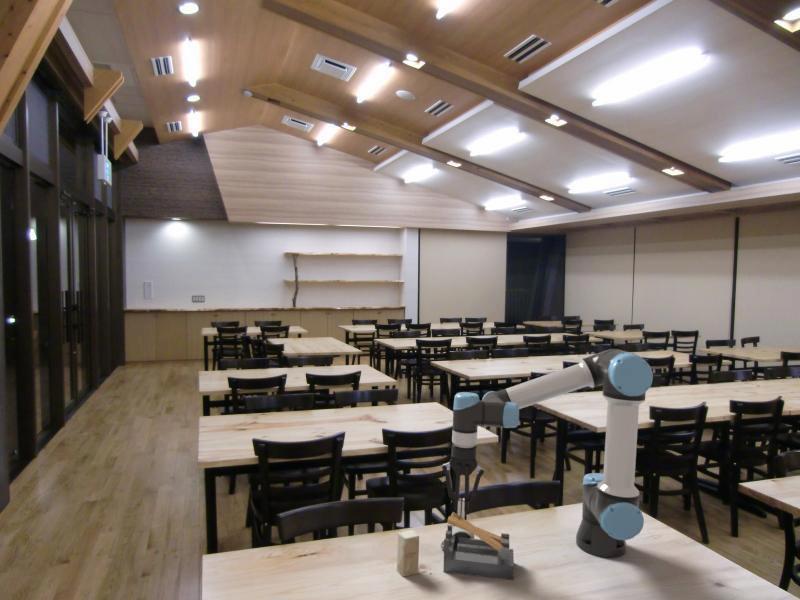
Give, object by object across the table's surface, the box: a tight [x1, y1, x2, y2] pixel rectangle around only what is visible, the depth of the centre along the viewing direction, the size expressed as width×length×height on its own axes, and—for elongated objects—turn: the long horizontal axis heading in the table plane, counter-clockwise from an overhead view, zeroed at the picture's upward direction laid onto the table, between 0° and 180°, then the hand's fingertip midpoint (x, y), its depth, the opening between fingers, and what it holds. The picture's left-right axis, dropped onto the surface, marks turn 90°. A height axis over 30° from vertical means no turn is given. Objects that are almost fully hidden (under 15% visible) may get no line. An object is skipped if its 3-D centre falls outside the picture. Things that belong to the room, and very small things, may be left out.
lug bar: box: [443, 524, 455, 559], centre depth 158 cm, size 2×10×5 cm, turn 169°
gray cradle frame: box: [443, 532, 515, 581], centre depth 156 cm, size 20×10×9 cm, turn 79°
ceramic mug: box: [440, 526, 475, 551], centre depth 167 cm, size 11×8×8 cm
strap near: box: [450, 511, 508, 552], centre depth 153 cm, size 19×2×2 cm, turn 78°
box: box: [396, 529, 420, 577], centre depth 153 cm, size 5×4×11 cm
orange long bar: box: [446, 515, 508, 544], centre depth 159 cm, size 19×2×2 cm, turn 78°
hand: (460, 520), depth 160 cm, fingers closed
